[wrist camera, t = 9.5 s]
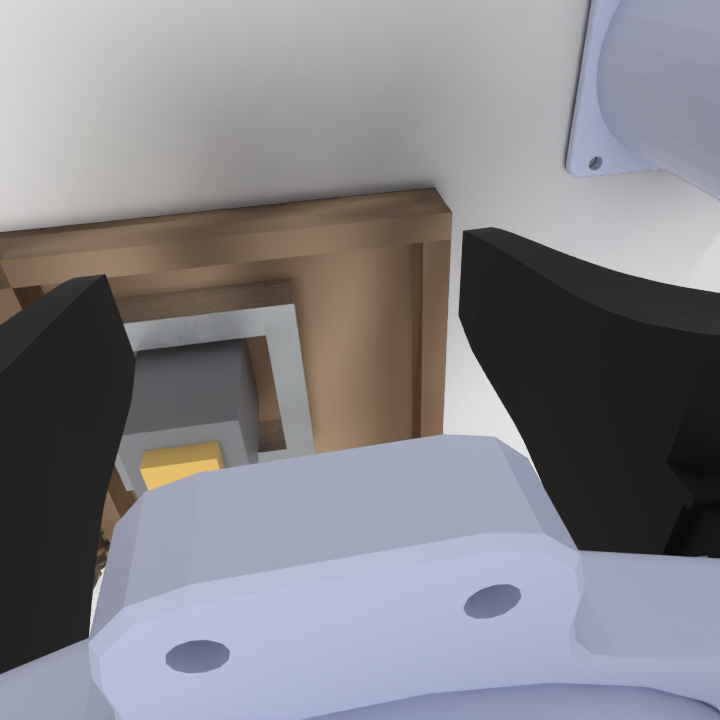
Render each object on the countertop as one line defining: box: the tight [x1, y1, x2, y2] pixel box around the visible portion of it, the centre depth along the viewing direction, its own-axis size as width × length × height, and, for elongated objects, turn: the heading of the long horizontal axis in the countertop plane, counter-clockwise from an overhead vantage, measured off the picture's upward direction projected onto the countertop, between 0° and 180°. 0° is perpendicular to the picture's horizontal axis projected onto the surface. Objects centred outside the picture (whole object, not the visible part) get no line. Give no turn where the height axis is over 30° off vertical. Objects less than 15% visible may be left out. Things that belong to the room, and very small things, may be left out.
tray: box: [0, 188, 452, 544], centre depth 25 cm, size 16×18×2 cm
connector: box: [118, 338, 259, 499], centre depth 22 cm, size 4×4×7 cm
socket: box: [114, 278, 316, 491], centre depth 24 cm, size 8×8×2 cm
